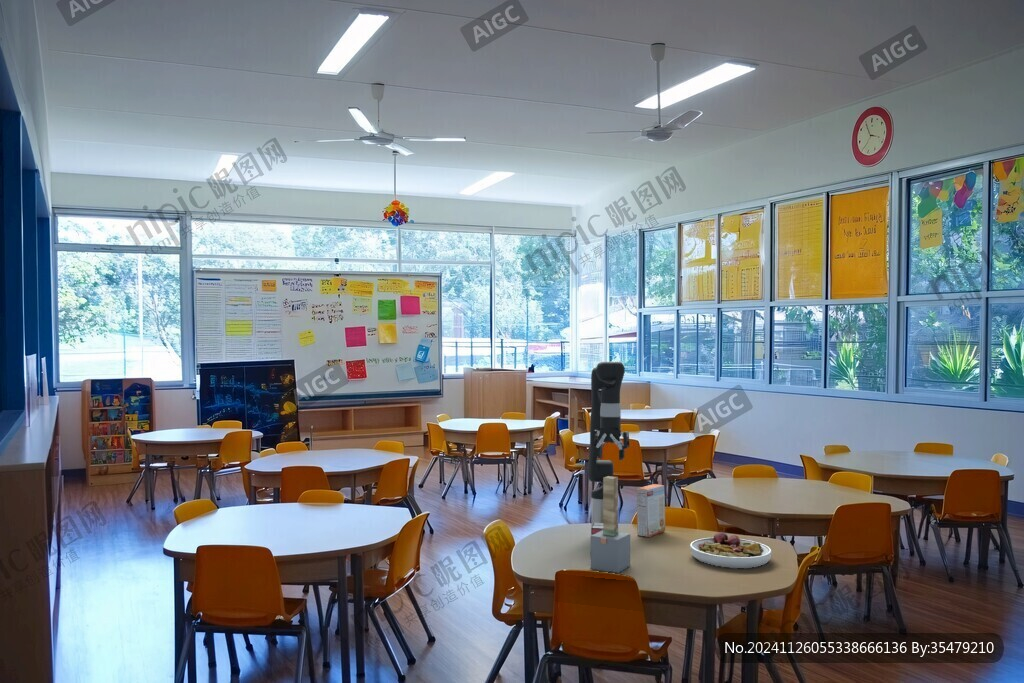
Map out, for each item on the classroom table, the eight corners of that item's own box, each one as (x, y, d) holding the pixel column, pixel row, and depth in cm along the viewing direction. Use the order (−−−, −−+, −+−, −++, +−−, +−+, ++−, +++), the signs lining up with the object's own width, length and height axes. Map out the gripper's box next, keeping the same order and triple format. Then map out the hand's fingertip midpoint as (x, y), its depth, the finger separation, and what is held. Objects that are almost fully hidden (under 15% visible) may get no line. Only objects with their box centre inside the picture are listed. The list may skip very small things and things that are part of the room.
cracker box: (654, 530, 336) (653, 483, 336) (665, 532, 332) (665, 485, 332) (636, 535, 326) (636, 487, 326) (648, 538, 322) (647, 489, 322)
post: (607, 540, 281) (607, 476, 281) (618, 541, 279) (618, 477, 279) (602, 542, 277) (602, 477, 278) (613, 544, 275) (613, 478, 275)
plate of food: (784, 570, 275) (784, 549, 275) (703, 571, 273) (703, 550, 273) (753, 549, 305) (753, 529, 305) (681, 550, 303) (681, 530, 303)
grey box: (603, 561, 285) (603, 529, 286) (630, 565, 279) (630, 533, 280) (589, 568, 276) (589, 536, 276) (616, 573, 270) (616, 540, 270)
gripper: (632, 415, 278) (632, 459, 278) (597, 413, 286) (597, 456, 285) (623, 416, 272) (623, 461, 271) (588, 415, 279) (588, 458, 279)
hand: (610, 458), depth 278 cm, fingers open, 8 cm apart
